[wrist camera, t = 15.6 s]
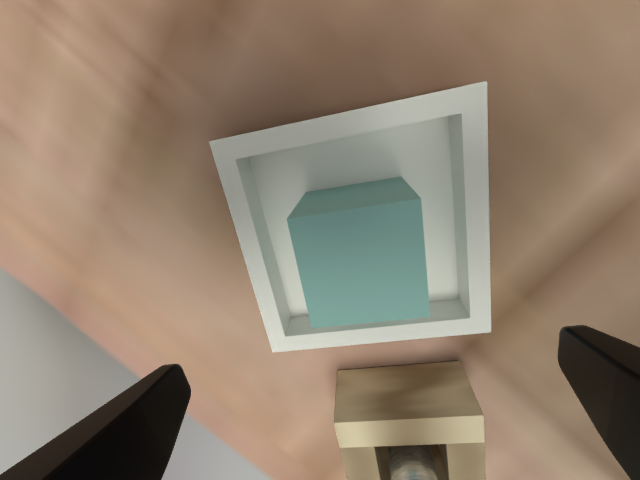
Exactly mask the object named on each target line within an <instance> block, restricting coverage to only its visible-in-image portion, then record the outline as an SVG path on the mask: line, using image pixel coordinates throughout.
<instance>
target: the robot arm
mask: <svg viewBox="0 0 640 480" xmlns="http://www.w3.org/2000/svg"><path fill="white" fill-rule="evenodd" d="M558 362H559V366H560V368H561V370H562V372H563V373H564V375H565V377H566V378H567V380H568V382H569V384H570V385H571V387H572V389H573V390H574V392H575V394H576V395H577V397H578V399H579V400H580V402H581V404H582V406H583V407H584V409H585V411H586V412H587V414H588V416H589V417H590V419H591V421H592V423H593V424H594V426H595V428H596V429H597V431H598V433H599V434H600V436H601V437H602V439H603V441H604V442H605V444H606V445H607V447H608V448H609V449H610V451H611V452H612V454H613V455H614V457H615V458H616V460H617V461H618V462H619V464H620V465H621V466H622V468H623V469H624V471H625V472H626V473H627V475H628V476H629V478H630V479H631V480H640V347H637V346H635V345H632V344H630V343H627V342H625V341H623V340H620V339H618V338H615V337H613V336H610V335H608V334H605V333H603V332H600V331H598V330H595V329H593V328H590V327H588V326H585V325H577V326H566V327H563V328H562V329H561V330H560V333H559V346H558ZM190 396H191V388H190V385H189V383H188V381H187V378H186V376H185V374H184V371H183V369H182V367H181V366H180V365H179V364H168V365H163V366H161V367H159V368H158V369H156V370H155V371H153V372H152V373H150V374H149V375H147V376H146V377H144V378H143V379H141V380H140V381H139V382H137V383H136V384H134V385H133V386H131V387H130V388H128V389H127V390H125V391H124V392H122V393H121V394H119V395H118V396H116V397H115V398H114V399H112V400H110V401H109V402H107V403H106V404H104V405H103V406H102V407H100V408H98V409H97V410H96V411H94V412H93V413H91V414H90V415H88V416H87V417H85V418H84V419H82V420H81V421H79V422H78V423H76V424H75V425H73V426H72V427H70V428H69V429H68V430H66V431H65V432H63V433H61V434H60V435H58V436H57V437H56V438H54V439H53V440H51V441H50V442H48V443H47V444H45V445H44V446H42V447H41V448H39V449H38V450H36V451H35V452H33V453H32V454H31V455H29V456H27V457H26V458H24V459H23V460H21V461H20V462H18V463H17V464H15V465H14V466H13V467H11V468H10V469H8V470H7V471H5V472H4V473H2V474H1V475H0V480H161V479H162V477H163V474H164V472H165V469H166V467H167V464H168V462H169V459H170V457H171V454H172V451H173V448H174V445H175V442H176V439H177V436H178V433H179V430H180V427H181V424H182V421H183V418H184V415H185V412H186V409H187V406H188V403H189V400H190Z"/></svg>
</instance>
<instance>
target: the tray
mask: <svg viewBox="0 0 640 480" xmlns="http://www.w3.org/2000/svg"><path fill="white" fill-rule="evenodd" d="M209 144H210V147H211V150H212V154H213V157H214V160H215V164H216V167H217V170H218V173H219V177H220V180H221V183H222V187H223V190H224V193H225V197H226V200H227V203H228V206H229V210H230V213H231V216H232V220H233V223H234V226H235V230H236V233H237V236H238V240H239V243H240V246H241V249H242V253H243V256H244V259H245V263H246V266H247V269H248V273H249V276H250V279H251V283H252V286H253V289H254V292H255V296H256V299H257V302H258V306H259V309H260V312H261V316H262V319H263V322H264V325H265V329H266V332H267V335H268V339H269V342H270V345H271V349H272V352H283V351H293V350H304V349H315V348H326V347H337V346H348V345H358V344H369V343H380V342H391V341H402V340H413V339H423V338H434V337H445V336H456V335H467V334H478V333H488V332H491V290H490V230H489V169H488V109H487V81H484V82H480V83H475V84H471V85H466V86H461V87H457V88H452V89H448V90H443V91H438V92H434V93H429V94H425V95H420V96H415V97H411V98H406V99H402V100H397V101H392V102H388V103H383V104H379V105H374V106H369V107H365V108H360V109H356V110H351V111H346V112H342V113H337V114H333V115H328V116H323V117H319V118H314V119H310V120H305V121H300V122H296V123H291V124H287V125H282V126H277V127H273V128H268V129H264V130H259V131H254V132H250V133H245V134H241V135H236V136H231V137H227V138H222V139H218V140H213V141H209ZM395 177H402V178H403V179H404V180H405V181H406V182H407V183H408V184H409V186H410V187H411V188H412V189H413V190H414V191H415V192H416V193H417V194H418V196H419V197H420V198H421V203H422V216H423V229H424V242H425V255H426V268H427V281H428V294H429V307H430V317H425V318H414V319H403V320H393V321H382V322H371V323H360V324H349V325H339V326H328V327H317V328H311V324H310V319H309V315H308V311H307V306H306V302H305V297H304V293H303V289H302V284H301V280H300V276H299V271H298V267H297V263H296V258H295V254H294V249H293V245H292V241H291V236H290V232H289V228H288V223H287V218H288V216H289V215H290V214H291V212H292V211H293V209H294V208H295V206H296V205H297V204H298V202H299V201H300V199H301V198H302V197H303V195H304V194H305V192H310V191H316V190H322V189H328V188H334V187H340V186H346V185H352V184H358V183H364V182H371V181H377V180H383V179H389V178H395Z"/></svg>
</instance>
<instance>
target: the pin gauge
mask: <svg viewBox="0 0 640 480" xmlns="http://www.w3.org/2000/svg"><path fill="white" fill-rule="evenodd" d="M387 447H388V456H389V466H390V476H391V480H438V478H437V473H436V469H435V465H434V461H433V457H432V452H431V448H430V445H403V446H387Z"/></svg>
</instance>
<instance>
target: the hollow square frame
mask: <svg viewBox="0 0 640 480" xmlns="http://www.w3.org/2000/svg"><path fill="white" fill-rule="evenodd" d="M334 426H335V430H336V434H337V438H338V442H339V447H340V451H341V455H342V459H343V463H344V467H345V471H346V475H347V479H348V480H391V476H390V466H389V456H388V447H387V446H403V445H430V448H431V452H432V457H433V461H434V465H435V469H436V473H437V478H438V480H486V476H485V442H484V415H483V413H482V410H481V408H480V406H479V404H478V401H477V399H476V397H475V395H474V392H473V390H472V388H471V386H470V383H469V381H468V379H467V377H466V374H465V372H464V370H463V368H462V365H461V363H460V361H451V362H438V363H426V364H413V365H400V366H388V367H375V368H363V369H350V370H337V382H336V397H335V412H334Z"/></svg>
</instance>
